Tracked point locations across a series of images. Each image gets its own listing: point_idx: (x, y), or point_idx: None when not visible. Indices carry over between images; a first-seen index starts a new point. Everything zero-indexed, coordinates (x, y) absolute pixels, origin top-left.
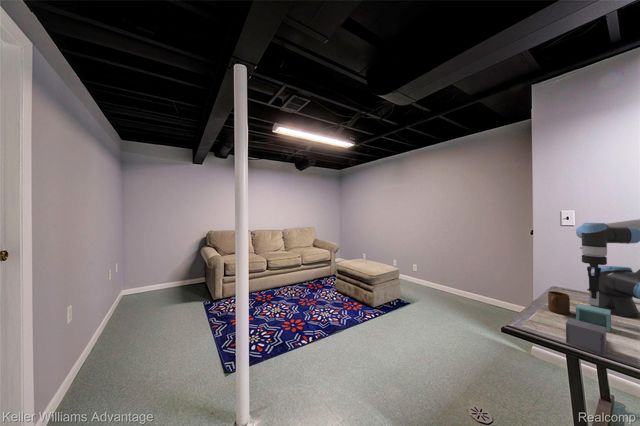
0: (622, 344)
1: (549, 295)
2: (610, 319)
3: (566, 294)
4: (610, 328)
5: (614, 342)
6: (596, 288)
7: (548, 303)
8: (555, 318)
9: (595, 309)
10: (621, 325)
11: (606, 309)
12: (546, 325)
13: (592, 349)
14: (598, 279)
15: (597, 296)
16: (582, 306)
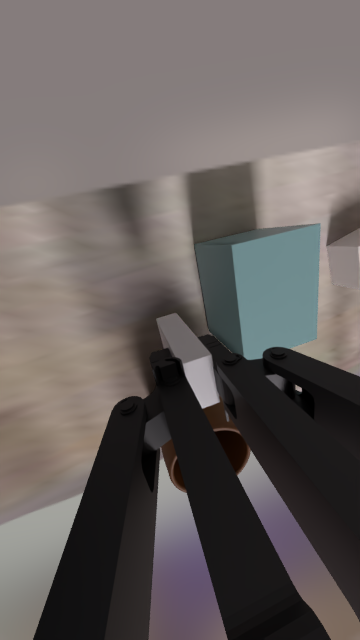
0: (333, 176)
1: (233, 460)
2: (238, 238)
3: None
4: (229, 236)
5: (334, 195)
6: (317, 364)
7: None
8: None
9: (286, 287)
10: (113, 231)
11: (238, 261)
12: (343, 337)
13: None
14: (123, 549)
15: (197, 341)
16: (284, 332)
